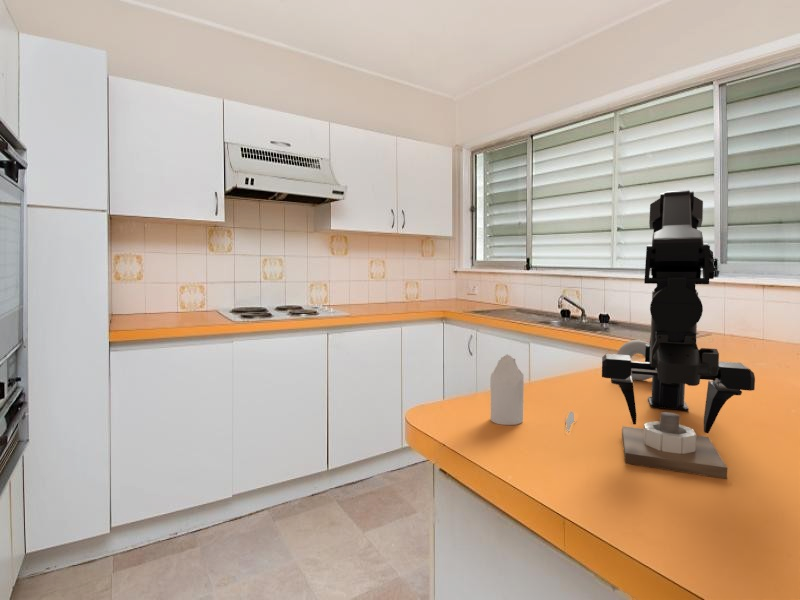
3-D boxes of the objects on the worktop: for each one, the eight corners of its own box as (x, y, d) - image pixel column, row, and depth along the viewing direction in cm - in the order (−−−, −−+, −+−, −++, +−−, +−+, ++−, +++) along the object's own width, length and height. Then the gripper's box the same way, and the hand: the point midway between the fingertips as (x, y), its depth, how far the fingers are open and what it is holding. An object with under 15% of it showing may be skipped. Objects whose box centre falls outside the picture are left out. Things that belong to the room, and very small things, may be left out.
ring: (642, 434, 72) (643, 419, 72) (690, 440, 69) (690, 425, 69) (645, 448, 66) (646, 432, 66) (698, 456, 64) (698, 439, 63)
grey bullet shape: (497, 358, 79) (486, 352, 85) (496, 426, 80) (485, 416, 86) (529, 357, 80) (516, 351, 86) (528, 424, 81) (515, 414, 87)
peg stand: (621, 435, 76) (623, 399, 75) (707, 446, 71) (709, 408, 71) (625, 463, 65) (626, 421, 64) (726, 478, 60) (729, 434, 60)
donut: (614, 379, 114) (615, 339, 114) (616, 376, 117) (617, 337, 116) (660, 384, 109) (662, 342, 108) (661, 381, 112) (663, 340, 111)
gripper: (603, 326, 63) (600, 437, 64) (771, 334, 55) (764, 459, 57) (603, 318, 73) (600, 414, 74) (745, 323, 66) (740, 430, 67)
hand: (669, 428), depth 68 cm, fingers open, 9 cm apart
